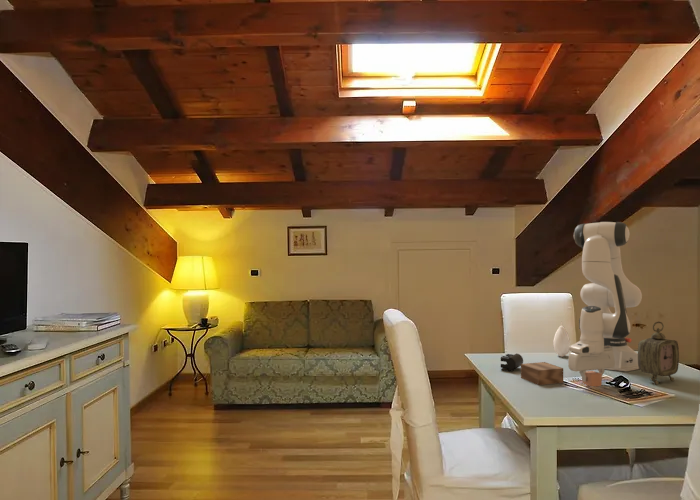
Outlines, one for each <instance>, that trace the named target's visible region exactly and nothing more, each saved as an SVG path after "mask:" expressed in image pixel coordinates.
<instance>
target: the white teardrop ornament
mask: <svg viewBox="0 0 700 500" xmlns="http://www.w3.org/2000/svg"><path fill="white" fill-rule="evenodd" d="M570 346H571V339H570V336H569V334H568V332H567V329H566V328H565V326H563V321H561V323H560V326H558V328H557V330H556V331H555V334H554V336H553V349H554V352H555V354H557V356H559V357H561V358H562V357H566V355H569V353H570V352H569V351H570V350H569V347H570Z"/></svg>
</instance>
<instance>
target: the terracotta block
mask: <svg viewBox="0 0 700 500" xmlns="http://www.w3.org/2000/svg"><path fill="white" fill-rule="evenodd" d="M598 372H599V371H598ZM598 372H597V371H596V370H588V371H586V373H585V375H586V377H588V381H585V382H584V381H582V384H583V383H584V384H583V385H585V384H586V385H585V386H588V385H589V386H588V387H590V386H595V387H602V386H601V385H603V381H602V380H603V375H602V374H601V373H598Z"/></svg>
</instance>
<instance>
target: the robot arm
mask: <svg viewBox="0 0 700 500" xmlns="http://www.w3.org/2000/svg"><path fill="white" fill-rule="evenodd" d="M630 235H631V233H630V230H629V227H628V224H626V223H625V222H622V221H616V222H613V221H600V222H592V223H591V222H589V223H581V224H577V226H576V227H575V228H574V232H573V240H574V242H575V244H576V245H577V246H578V247H579V248H581V249H582V253H581V254H582V256H581V270H582V271H581V272H582V275H583V277H585V279H586V280H587V281H589V283H585V284H583V286H582V288H581V289H580V296H579V297H580V299H581V301H582V302H583V303H584V304H585V305H586V306H584V307H582V308H581V312H580V317H579V320H578V321H579V322H578V329H579V331H580V337H579V341H577V342H575V343H572V344H570V347H569V351H570V352H569V353H568V360H567V361H568V362H567V363H568V368H569V370H570V371H572V372H574V373H575V372H579V374H580V376H581V381H582V382H583V381H584V382H585V381H588V377H586V375H585V373H586V371H596V370H597V371H598V373H601V374H602V376H603V375H604V374H605V370H607V371H620V372H630V371H635V370H640V369H639V367H638V352H636V351H635V350H634V349H633V348H631V347H630V346H629V345H628V343H631V342H632V341H633V340H632V338H630V337H627V336H629V335H630V332H631V329H632V326H631V322H630V319H629V317H628V316H629V315H628V311H627V308H635V307H638V306H639V305H640V304H641V302H642V298H643V294H642V291H641V289H640V288H639V287H638V286H637V285H636V284H634V283H633V282H631V281H630V279H628V277H627V275H625V273H624V269H623V263H622V255H621V247H623V246H625V245H626V244H627V243H628V241H629V239H630ZM610 307H611V308H614V311H615V312H614V313H613V312H612V311H611V310H610Z"/></svg>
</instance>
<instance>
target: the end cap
mask: <svg viewBox="0 0 700 500" xmlns="http://www.w3.org/2000/svg"><path fill="white" fill-rule="evenodd" d="M500 362H504V363H506V364H504V363H500V371H501V372H502V371H503V372H509V373H510V372H513V371H514V370H516V369H518V368H521V364H524V357H523V356H522V355H521V354H519V353H514V354H512V353H511V354H510V353H507V354H505V355H502V356H501V357H500Z"/></svg>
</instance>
